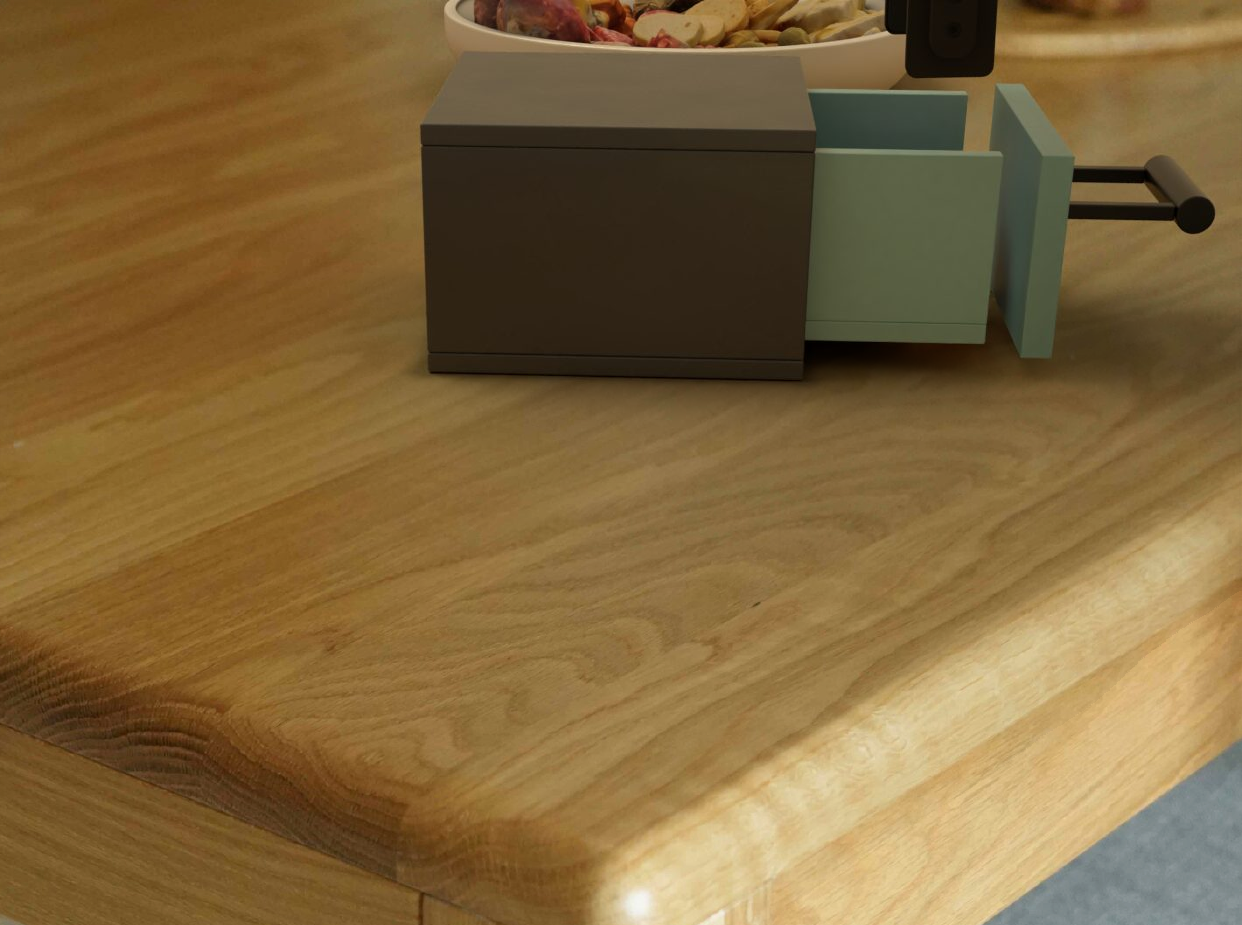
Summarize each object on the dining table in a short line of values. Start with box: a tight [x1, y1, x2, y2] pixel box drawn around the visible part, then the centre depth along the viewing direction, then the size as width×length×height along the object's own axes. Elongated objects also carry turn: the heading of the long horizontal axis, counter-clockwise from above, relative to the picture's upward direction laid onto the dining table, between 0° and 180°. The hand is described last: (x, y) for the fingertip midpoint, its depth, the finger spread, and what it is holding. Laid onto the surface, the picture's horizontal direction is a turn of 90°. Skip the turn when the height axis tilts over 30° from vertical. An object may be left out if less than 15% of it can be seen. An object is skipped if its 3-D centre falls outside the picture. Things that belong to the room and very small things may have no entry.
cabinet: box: [419, 51, 817, 381], centre depth 82 cm, size 15×15×10 cm
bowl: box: [443, 0, 907, 90], centre depth 126 cm, size 30×30×8 cm
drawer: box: [805, 83, 1216, 360], centre depth 81 cm, size 20×13×8 cm
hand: (935, 53), depth 78 cm, fingers open, 9 cm apart
